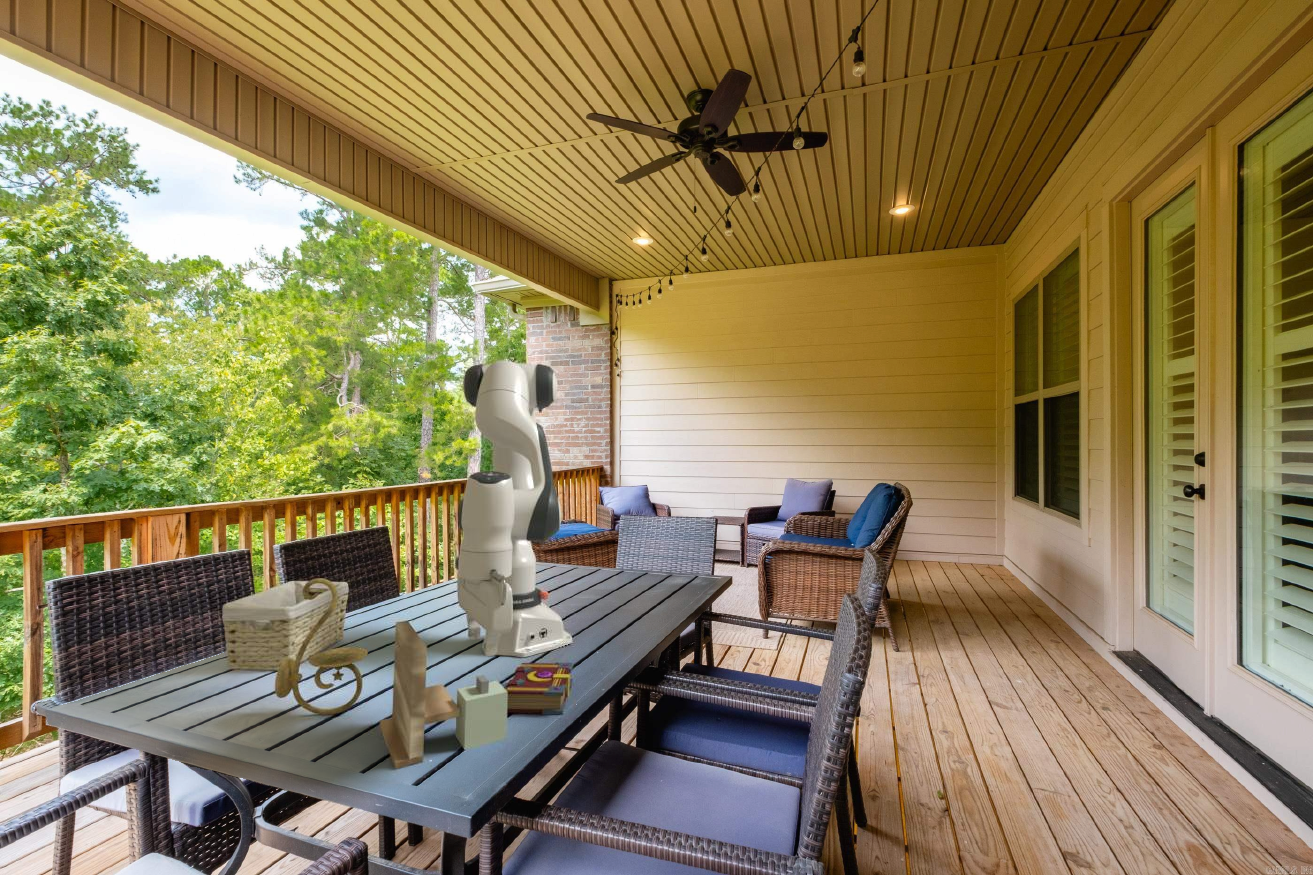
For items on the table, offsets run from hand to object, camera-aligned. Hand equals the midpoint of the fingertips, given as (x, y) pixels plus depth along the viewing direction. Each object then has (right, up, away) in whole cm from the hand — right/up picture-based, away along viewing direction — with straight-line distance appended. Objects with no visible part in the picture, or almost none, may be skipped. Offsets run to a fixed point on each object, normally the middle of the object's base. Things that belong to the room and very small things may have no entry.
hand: (481, 645), depth 97 cm
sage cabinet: (0, -16, 0) cm, 16 cm away
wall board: (-10, -15, -1) cm, 19 cm away
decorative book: (+7, -17, +17) cm, 24 cm away
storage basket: (-57, -16, +36) cm, 70 cm away
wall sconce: (-31, -15, +6) cm, 35 cm away
